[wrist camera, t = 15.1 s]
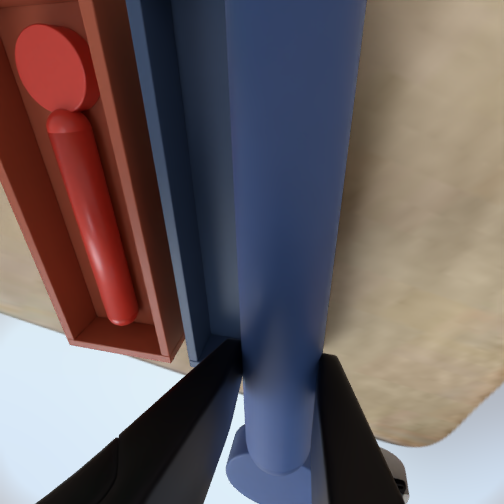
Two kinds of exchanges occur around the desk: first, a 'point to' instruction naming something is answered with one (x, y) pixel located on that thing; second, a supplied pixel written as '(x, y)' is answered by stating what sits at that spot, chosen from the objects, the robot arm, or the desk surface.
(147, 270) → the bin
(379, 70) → the desk surface
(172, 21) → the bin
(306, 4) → the blue spoon
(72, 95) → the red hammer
